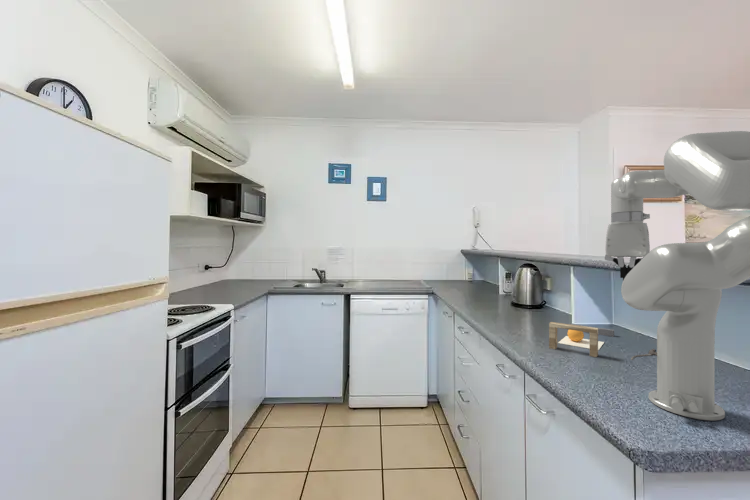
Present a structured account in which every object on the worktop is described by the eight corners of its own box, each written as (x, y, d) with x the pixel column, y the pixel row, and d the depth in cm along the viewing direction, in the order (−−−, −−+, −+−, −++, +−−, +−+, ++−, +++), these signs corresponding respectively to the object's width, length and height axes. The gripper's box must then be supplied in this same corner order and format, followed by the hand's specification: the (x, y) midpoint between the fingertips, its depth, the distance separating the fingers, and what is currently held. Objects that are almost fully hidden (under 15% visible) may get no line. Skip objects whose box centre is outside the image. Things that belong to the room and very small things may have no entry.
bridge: (596, 357, 107) (596, 330, 107) (549, 348, 117) (549, 323, 117) (598, 355, 109) (598, 328, 109) (551, 346, 119) (551, 321, 119)
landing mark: (598, 350, 114) (598, 349, 114) (557, 343, 123) (557, 342, 123) (604, 342, 124) (604, 342, 124) (566, 336, 132) (566, 335, 132)
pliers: (631, 360, 103) (629, 345, 119) (631, 362, 103) (629, 347, 119) (671, 366, 97) (664, 350, 113) (671, 369, 97) (664, 352, 113)
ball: (584, 341, 126) (582, 345, 122) (568, 337, 129) (565, 341, 125) (585, 327, 125) (583, 331, 121) (569, 324, 129) (566, 327, 124)
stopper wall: (613, 336, 132) (613, 330, 132) (569, 330, 143) (569, 324, 143) (614, 335, 133) (614, 329, 133) (570, 329, 144) (570, 323, 144)
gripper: (660, 218, 92) (660, 281, 92) (598, 221, 102) (598, 278, 103) (660, 216, 87) (660, 283, 87) (594, 220, 97) (594, 280, 97)
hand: (626, 280), depth 95 cm, fingers closed
